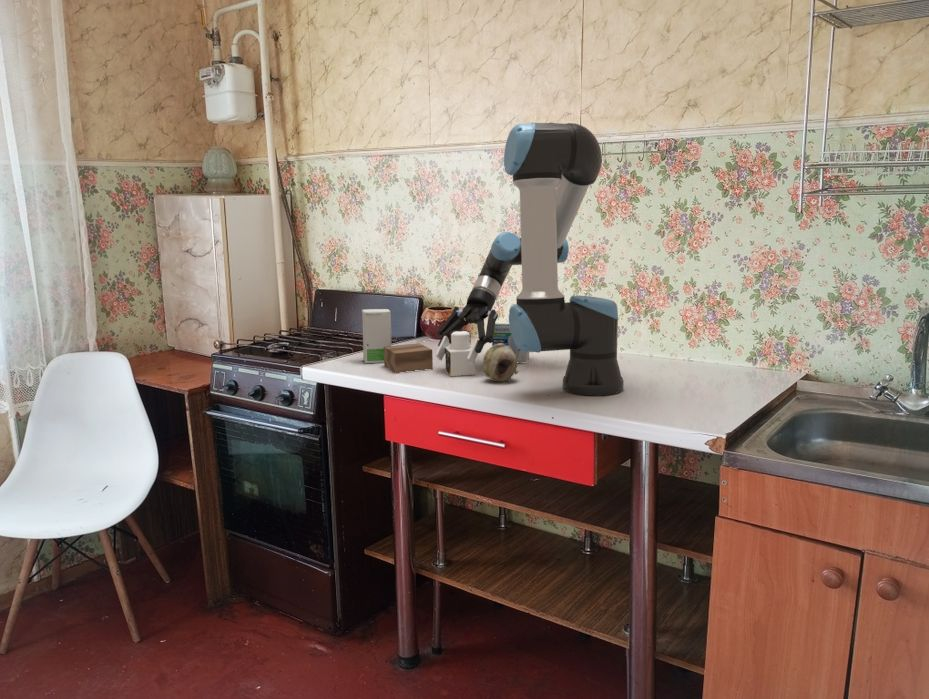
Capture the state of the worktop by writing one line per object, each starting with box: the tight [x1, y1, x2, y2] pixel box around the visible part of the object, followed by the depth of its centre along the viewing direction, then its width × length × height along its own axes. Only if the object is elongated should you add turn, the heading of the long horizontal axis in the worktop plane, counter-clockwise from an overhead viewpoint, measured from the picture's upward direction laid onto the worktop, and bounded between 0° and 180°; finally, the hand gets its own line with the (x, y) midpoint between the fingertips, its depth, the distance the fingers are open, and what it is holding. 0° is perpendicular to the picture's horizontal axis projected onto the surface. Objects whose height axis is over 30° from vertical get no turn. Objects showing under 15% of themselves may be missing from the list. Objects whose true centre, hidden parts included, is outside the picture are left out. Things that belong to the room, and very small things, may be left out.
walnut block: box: [383, 342, 434, 374], centre depth 217 cm, size 11×11×6 cm
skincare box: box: [361, 308, 392, 364], centre depth 226 cm, size 8×7×16 cm
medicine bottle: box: [444, 329, 476, 377], centre depth 208 cm, size 7×7×12 cm
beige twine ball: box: [481, 343, 519, 383], centre depth 198 cm, size 10×8×10 cm
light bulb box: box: [491, 323, 530, 363], centre depth 223 cm, size 11×7×11 cm, turn 80°
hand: (453, 359), depth 205 cm, fingers closed on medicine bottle, 10 cm apart
